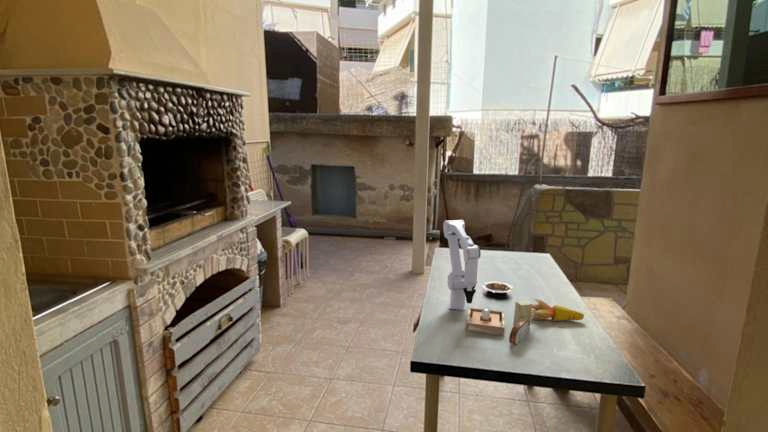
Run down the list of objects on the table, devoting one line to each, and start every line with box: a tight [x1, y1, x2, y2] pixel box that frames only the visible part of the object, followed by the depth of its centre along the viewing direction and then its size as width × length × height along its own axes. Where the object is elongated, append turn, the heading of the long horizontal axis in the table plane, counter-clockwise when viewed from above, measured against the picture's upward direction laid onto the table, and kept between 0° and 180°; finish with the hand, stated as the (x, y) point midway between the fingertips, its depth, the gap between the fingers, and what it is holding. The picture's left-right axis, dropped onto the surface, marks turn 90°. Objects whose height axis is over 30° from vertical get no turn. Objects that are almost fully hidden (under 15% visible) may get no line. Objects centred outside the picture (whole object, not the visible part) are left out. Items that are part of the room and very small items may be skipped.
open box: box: [466, 306, 505, 337], centre depth 188 cm, size 16×16×4 cm
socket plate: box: [472, 311, 499, 326], centre depth 189 cm, size 12×12×2 cm
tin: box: [508, 318, 528, 346], centre depth 175 cm, size 15×3×8 cm, turn 141°
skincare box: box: [512, 299, 533, 330], centre depth 185 cm, size 6×4×12 cm
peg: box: [481, 307, 491, 322], centre depth 188 cm, size 4×4×7 cm
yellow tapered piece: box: [531, 298, 585, 323], centre depth 194 cm, size 8×8×25 cm
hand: (469, 299), depth 191 cm, fingers open, 7 cm apart
